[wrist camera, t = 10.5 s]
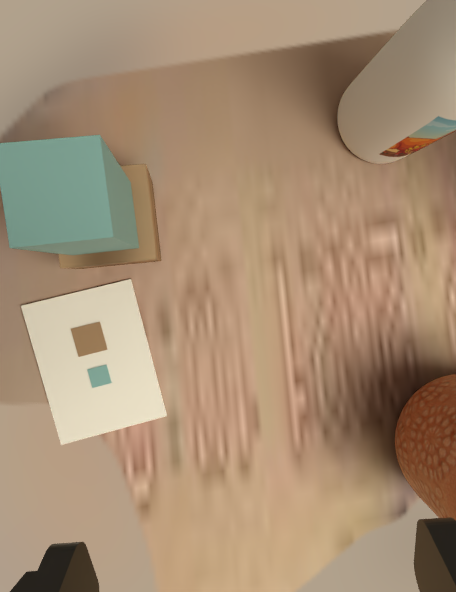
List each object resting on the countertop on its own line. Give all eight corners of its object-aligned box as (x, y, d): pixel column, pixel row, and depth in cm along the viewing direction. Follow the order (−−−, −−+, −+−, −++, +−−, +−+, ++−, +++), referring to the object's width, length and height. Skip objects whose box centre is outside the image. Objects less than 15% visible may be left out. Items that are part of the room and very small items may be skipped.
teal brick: (130, 182, 28) (99, 134, 18) (139, 248, 28) (113, 237, 19) (62, 188, 28) (-7, 143, 18) (72, 255, 28) (9, 248, 18)
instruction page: (131, 278, 34) (130, 279, 34) (166, 415, 35) (166, 416, 35) (21, 305, 34) (20, 305, 33) (61, 443, 35) (60, 445, 34)
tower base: (152, 182, 34) (145, 163, 28) (161, 260, 35) (156, 258, 29) (71, 189, 34) (47, 171, 28) (82, 268, 34) (60, 268, 28)
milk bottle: (330, 161, 35) (515, 21, 16) (338, 69, 35) (539, -195, 15) (415, 170, 36) (693, 49, 16) (424, 80, 36) (720, -155, 16)
